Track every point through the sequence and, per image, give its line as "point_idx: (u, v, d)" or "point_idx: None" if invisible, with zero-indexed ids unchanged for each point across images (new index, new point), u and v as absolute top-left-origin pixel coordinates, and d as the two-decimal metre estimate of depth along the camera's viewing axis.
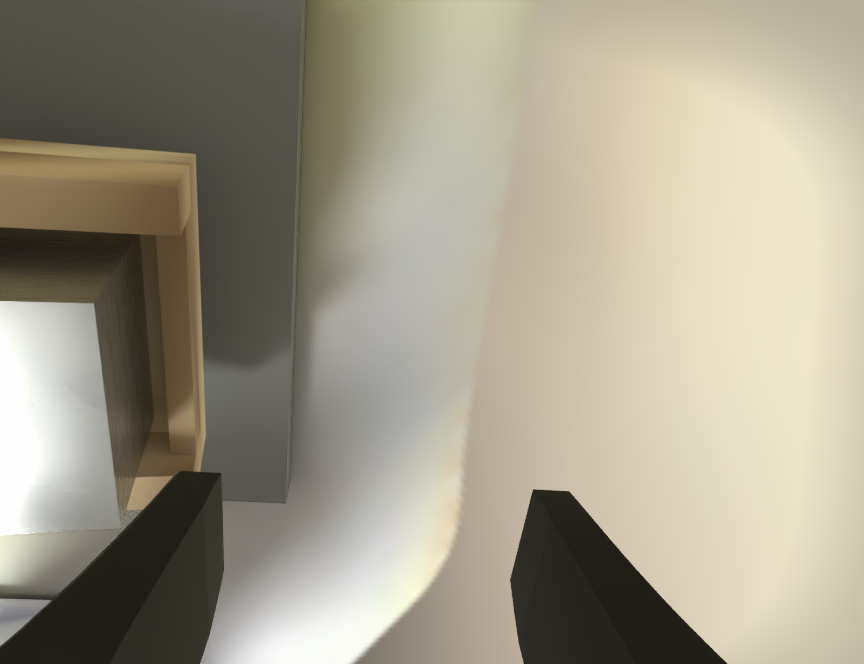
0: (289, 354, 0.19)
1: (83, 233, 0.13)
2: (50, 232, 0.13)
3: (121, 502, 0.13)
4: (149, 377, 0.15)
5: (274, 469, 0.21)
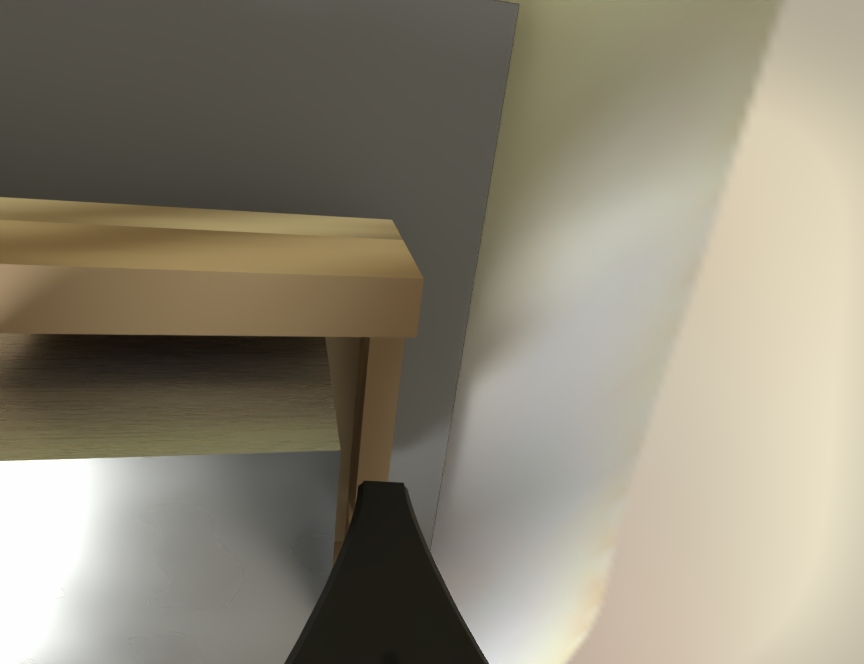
0: (448, 433, 0.17)
1: None
2: None
3: None
4: None
5: None
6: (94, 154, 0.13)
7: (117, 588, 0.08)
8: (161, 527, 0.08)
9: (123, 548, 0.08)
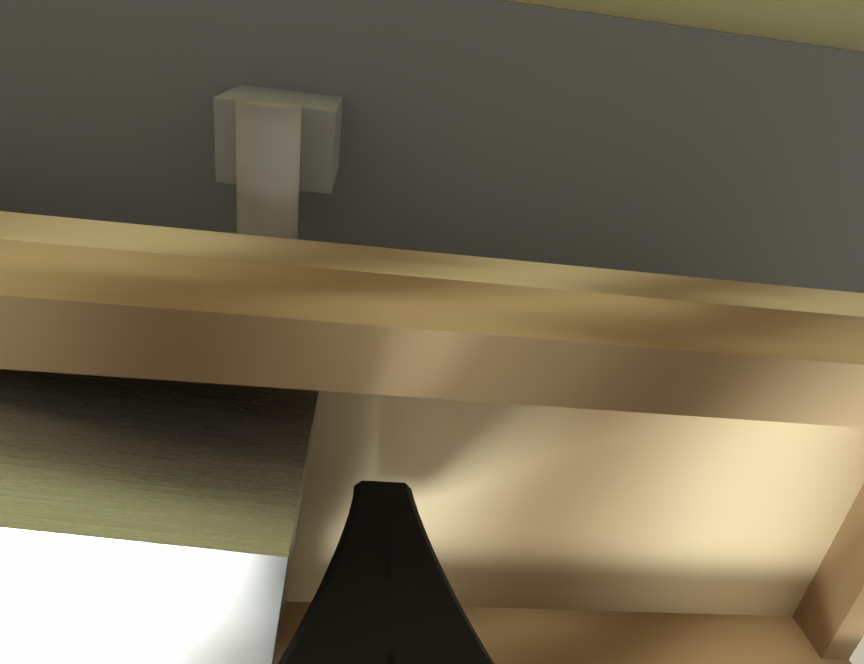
0: None
1: None
2: None
3: None
4: (294, 547, 0.11)
5: None
6: (556, 202, 0.14)
7: None
8: (68, 612, 0.07)
9: (24, 627, 0.07)
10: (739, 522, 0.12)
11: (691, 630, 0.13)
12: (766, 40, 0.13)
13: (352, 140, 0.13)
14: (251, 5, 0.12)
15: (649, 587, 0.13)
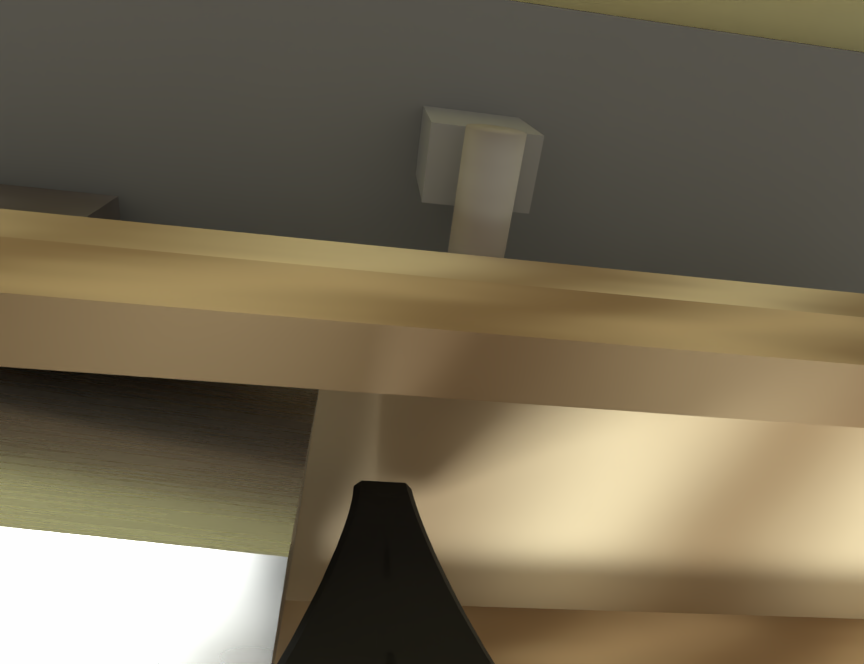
0: None
1: None
2: None
3: None
4: None
5: None
6: (709, 218, 0.14)
7: None
8: (68, 612, 0.07)
9: (23, 627, 0.07)
10: None
11: (851, 635, 0.13)
12: None
13: None
14: (442, 30, 0.12)
15: (811, 593, 0.13)
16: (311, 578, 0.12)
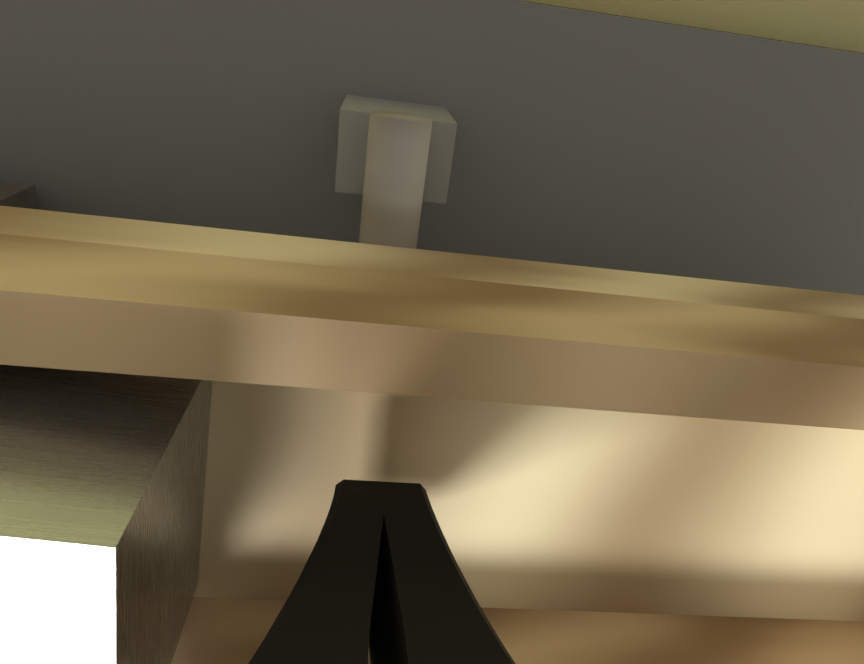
0: None
1: None
2: None
3: None
4: (198, 541, 0.11)
5: None
6: (645, 212, 0.14)
7: None
8: None
9: None
10: (835, 529, 0.12)
11: (782, 635, 0.13)
12: (861, 55, 0.13)
13: None
14: (362, 16, 0.12)
15: (741, 592, 0.13)
16: (225, 575, 0.12)
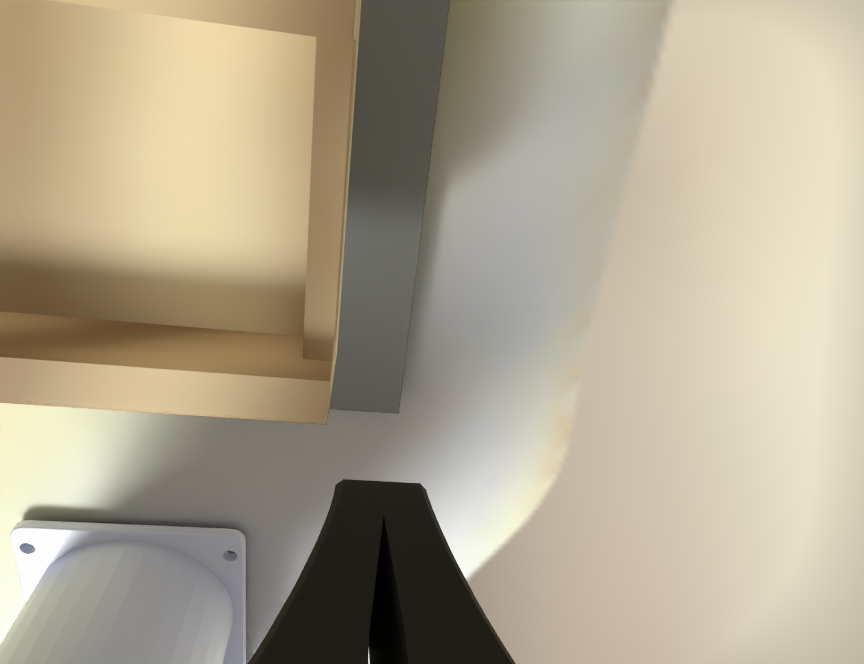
0: (418, 240, 0.18)
1: None
2: None
3: None
4: None
5: (389, 374, 0.20)
6: None
7: None
8: None
9: None
10: (203, 213, 0.12)
11: (183, 335, 0.13)
12: None
13: None
14: None
15: (140, 292, 0.13)
16: None
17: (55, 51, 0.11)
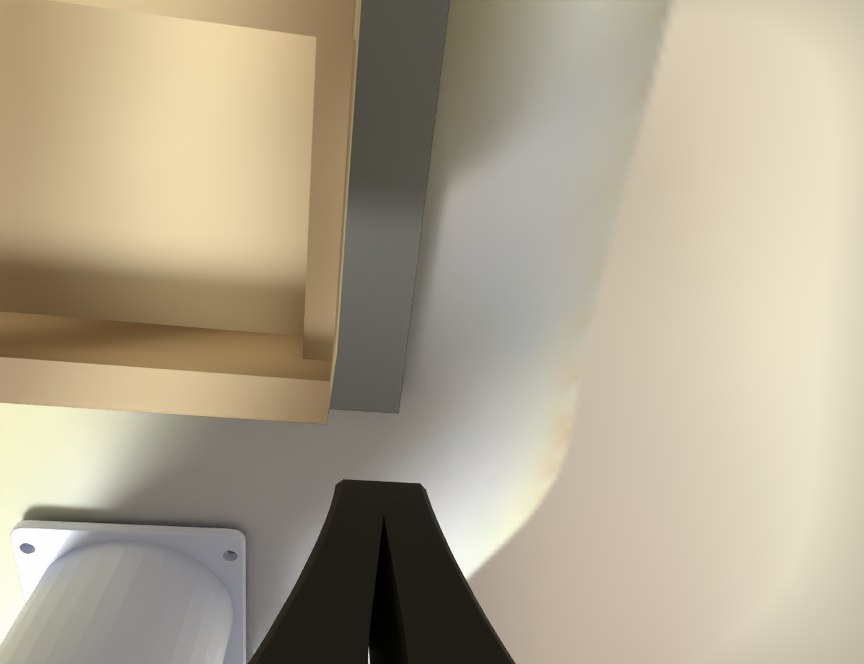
0: (418, 240, 0.18)
1: None
2: None
3: None
4: None
5: (389, 374, 0.20)
6: None
7: None
8: None
9: None
10: (203, 213, 0.12)
11: (183, 335, 0.13)
12: None
13: None
14: None
15: (140, 292, 0.13)
16: None
17: (55, 51, 0.11)
